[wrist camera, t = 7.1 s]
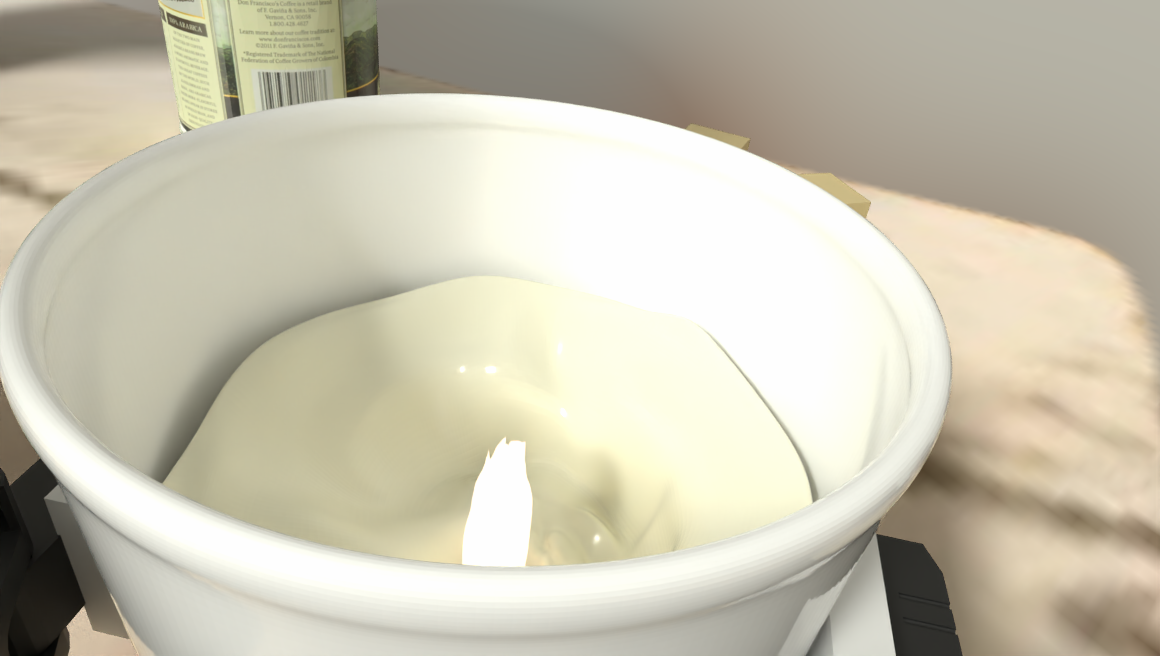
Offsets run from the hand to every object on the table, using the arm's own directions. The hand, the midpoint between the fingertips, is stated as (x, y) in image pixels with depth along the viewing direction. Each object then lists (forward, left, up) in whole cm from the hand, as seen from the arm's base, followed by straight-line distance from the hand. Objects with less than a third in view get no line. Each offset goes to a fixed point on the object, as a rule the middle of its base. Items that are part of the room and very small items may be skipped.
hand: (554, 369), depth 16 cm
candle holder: (+4, -2, -7) cm, 8 cm away
